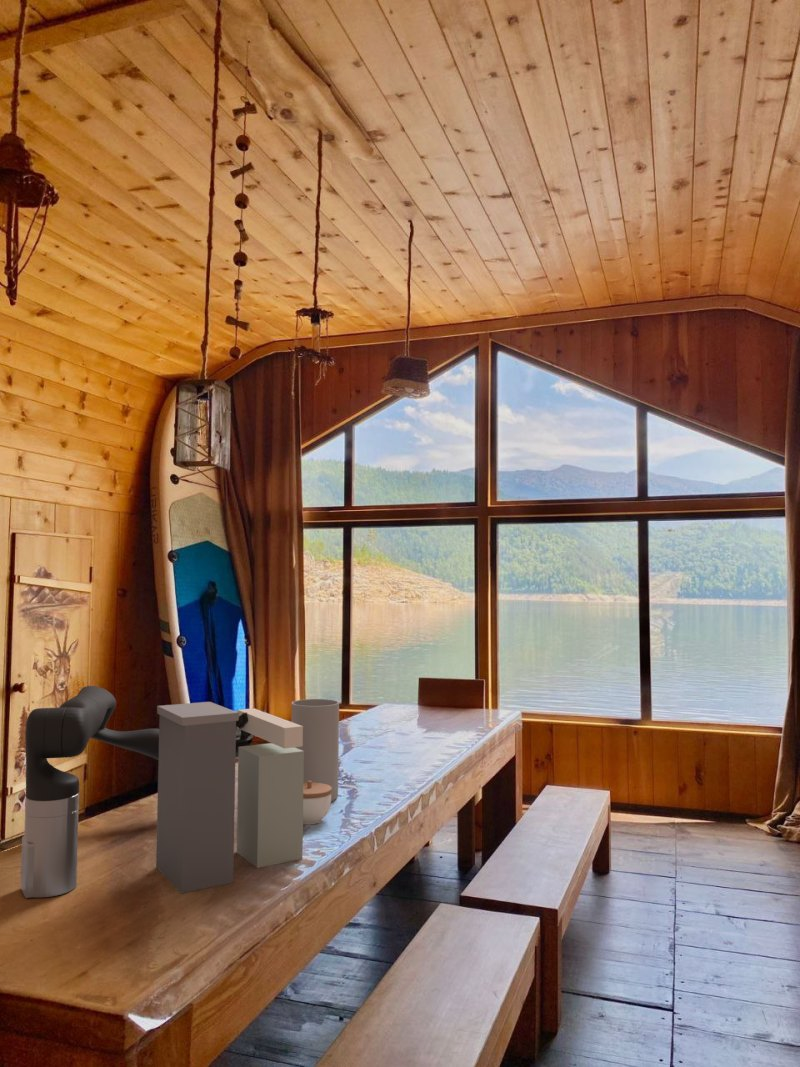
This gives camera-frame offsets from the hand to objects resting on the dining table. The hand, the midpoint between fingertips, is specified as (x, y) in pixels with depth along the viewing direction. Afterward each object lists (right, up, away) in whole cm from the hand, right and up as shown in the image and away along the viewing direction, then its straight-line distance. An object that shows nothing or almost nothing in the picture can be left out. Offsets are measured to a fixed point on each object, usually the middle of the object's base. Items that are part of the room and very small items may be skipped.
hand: (256, 715), depth 178 cm
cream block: (+3, -3, -6) cm, 7 cm away
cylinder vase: (+9, -30, +36) cm, 48 cm away
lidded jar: (+10, -29, +16) cm, 35 cm away
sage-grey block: (+4, -27, -8) cm, 29 cm away
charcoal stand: (-9, -27, -20) cm, 34 cm away
